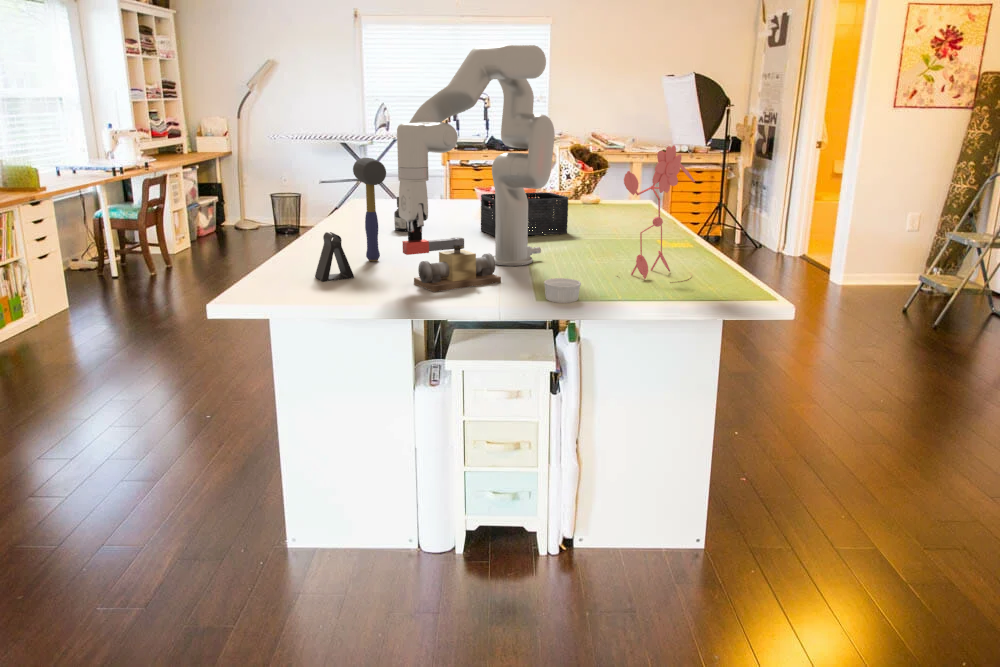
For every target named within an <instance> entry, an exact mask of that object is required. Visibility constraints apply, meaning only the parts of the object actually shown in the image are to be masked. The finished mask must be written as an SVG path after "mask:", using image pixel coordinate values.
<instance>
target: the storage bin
mask: <svg viewBox="0 0 1000 667" xmlns="http://www.w3.org/2000/svg"><path fill="white" fill-rule="evenodd" d="M525 193H526V196H527V199H528V227H529V228H528V235H542V236H545V235H544V234H559V235H564V234H563V233H566V234H568V218H569V196H565V195H562V194H561V195H560V194H558V193H557V194H556V193H552V192H543V191H542V192H525ZM532 227H533V228H532ZM535 227H536V228H535ZM549 229H550V230H549ZM552 229H553V230H552ZM556 229H557V230H556ZM529 230H530V231H529ZM532 230H533V231H532ZM480 231H481V232H484V233H487V234H488V235H490V236H493V237H495V193H484V194H482V193H481V195H480ZM542 232H543V233H542Z"/></svg>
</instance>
